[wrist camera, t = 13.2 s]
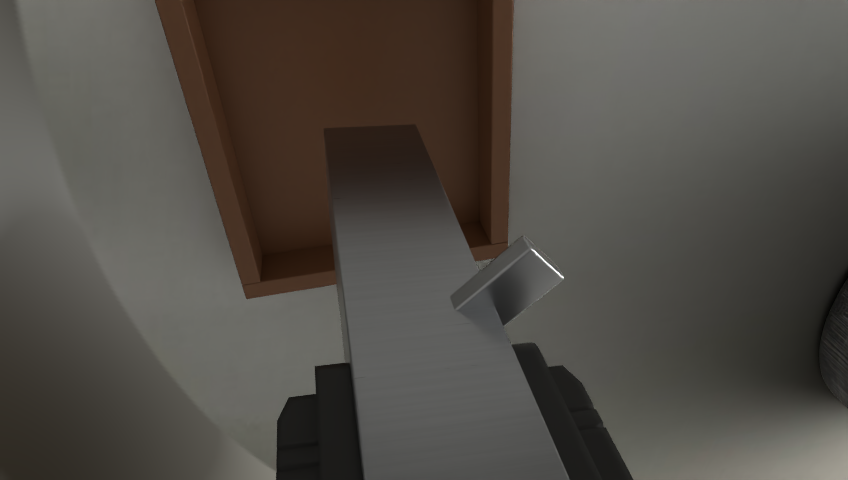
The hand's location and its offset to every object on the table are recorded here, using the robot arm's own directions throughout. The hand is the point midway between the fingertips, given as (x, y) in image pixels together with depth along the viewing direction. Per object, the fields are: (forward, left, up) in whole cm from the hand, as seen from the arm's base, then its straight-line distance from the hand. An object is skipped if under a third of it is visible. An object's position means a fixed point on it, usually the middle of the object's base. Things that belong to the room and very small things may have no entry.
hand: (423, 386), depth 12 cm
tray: (0, 0, -15) cm, 15 cm away
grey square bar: (0, 0, -10) cm, 10 cm away
